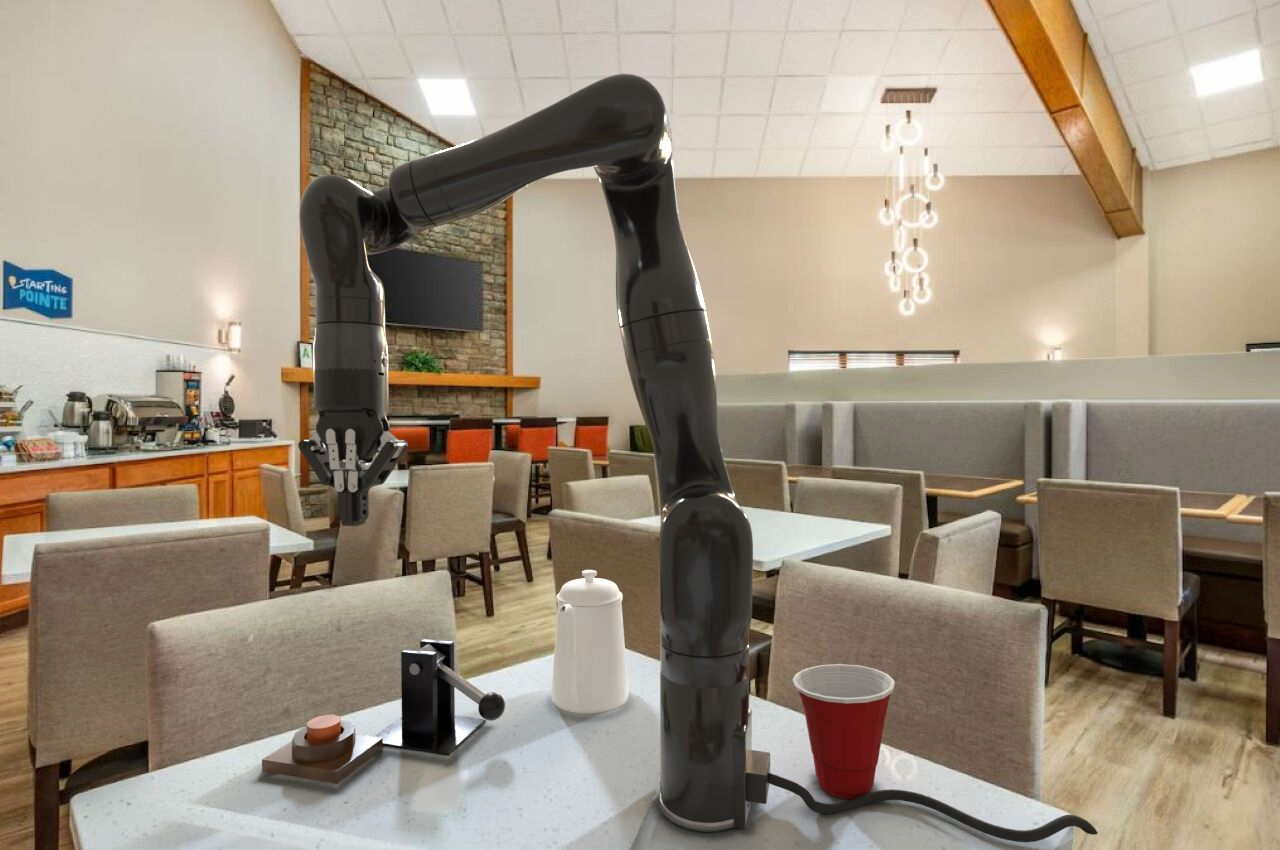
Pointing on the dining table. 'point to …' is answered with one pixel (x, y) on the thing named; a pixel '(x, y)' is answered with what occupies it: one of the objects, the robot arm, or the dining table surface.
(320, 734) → the warm button
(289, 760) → the button base
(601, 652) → the coffeepot
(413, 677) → the lever base
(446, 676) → the lever
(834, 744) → the plastic cup
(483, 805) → the dining table surface
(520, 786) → the dining table surface
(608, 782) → the dining table surface
